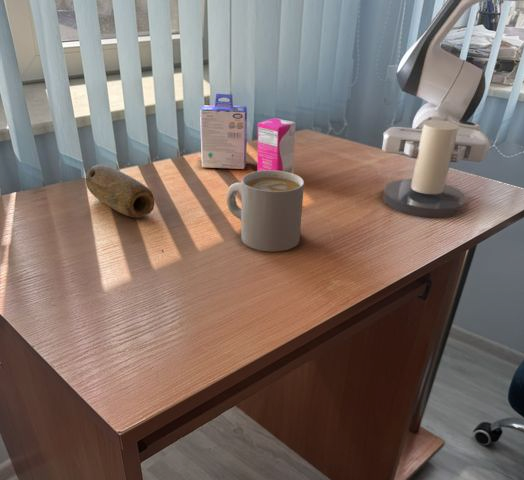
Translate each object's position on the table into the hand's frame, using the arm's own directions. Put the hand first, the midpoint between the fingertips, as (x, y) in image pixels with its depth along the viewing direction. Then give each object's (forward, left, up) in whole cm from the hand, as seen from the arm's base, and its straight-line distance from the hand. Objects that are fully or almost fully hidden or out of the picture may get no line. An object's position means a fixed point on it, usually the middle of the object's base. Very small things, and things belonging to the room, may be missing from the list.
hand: (434, 155), depth 98 cm
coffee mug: (+36, +8, -10) cm, 38 cm away
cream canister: (0, -1, -7) cm, 7 cm away
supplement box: (+26, -19, -10) cm, 33 cm away
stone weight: (+59, -8, -10) cm, 60 cm away
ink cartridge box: (+35, -29, -10) cm, 46 cm away
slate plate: (0, -1, -9) cm, 9 cm away
